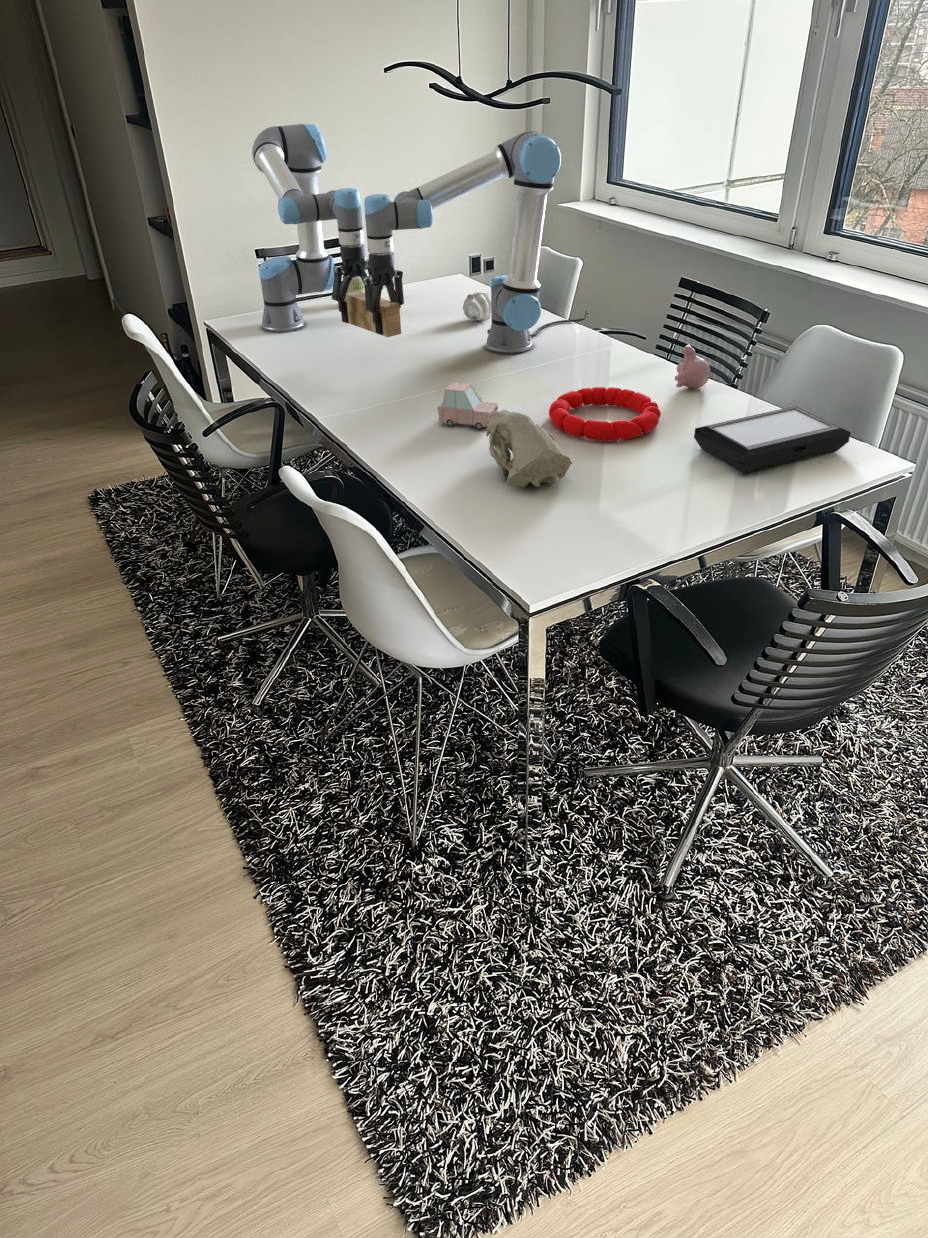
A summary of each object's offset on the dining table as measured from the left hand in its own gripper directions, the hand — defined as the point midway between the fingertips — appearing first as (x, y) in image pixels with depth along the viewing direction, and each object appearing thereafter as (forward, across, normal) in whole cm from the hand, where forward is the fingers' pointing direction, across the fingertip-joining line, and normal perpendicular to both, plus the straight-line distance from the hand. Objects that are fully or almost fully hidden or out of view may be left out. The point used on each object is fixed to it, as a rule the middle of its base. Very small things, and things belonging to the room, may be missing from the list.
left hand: (358, 318), depth 285 cm
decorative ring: (+13, +17, -91) cm, 93 cm away
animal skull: (+13, -20, -97) cm, 100 cm away
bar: (+1, 0, -8) cm, 8 cm away
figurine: (+13, +54, -91) cm, 107 cm away
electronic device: (+13, +33, -132) cm, 137 cm away
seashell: (+13, +56, +6) cm, 58 cm away
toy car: (+13, -10, -66) cm, 68 cm away
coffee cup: (+13, +37, +57) cm, 69 cm away
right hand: (+1, 0, -15) cm, 15 cm away
